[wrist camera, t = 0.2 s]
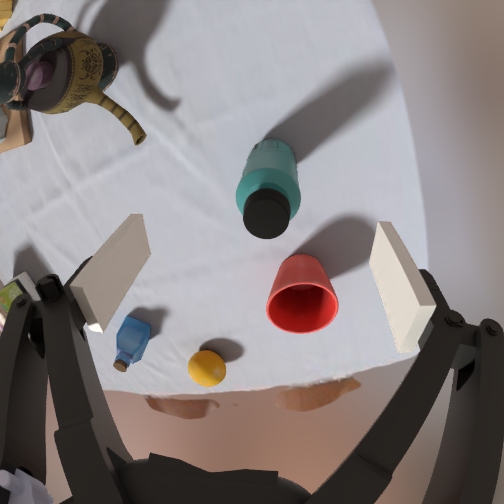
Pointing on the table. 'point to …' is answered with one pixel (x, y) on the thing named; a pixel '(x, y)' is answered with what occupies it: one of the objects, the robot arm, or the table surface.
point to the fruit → (207, 368)
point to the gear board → (17, 120)
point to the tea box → (15, 294)
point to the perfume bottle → (131, 342)
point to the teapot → (62, 74)
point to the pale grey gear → (2, 125)
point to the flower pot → (301, 296)
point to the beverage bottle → (269, 189)
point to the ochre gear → (5, 11)
